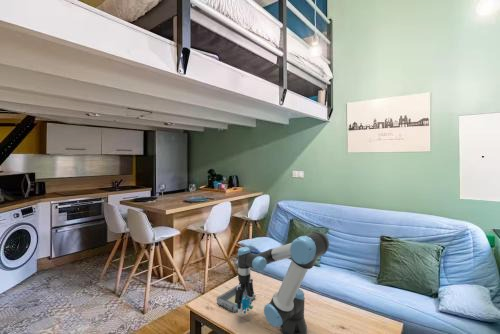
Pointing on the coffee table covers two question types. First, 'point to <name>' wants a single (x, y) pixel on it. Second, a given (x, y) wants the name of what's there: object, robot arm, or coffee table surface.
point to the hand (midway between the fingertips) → (244, 310)
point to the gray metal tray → (231, 299)
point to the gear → (245, 304)
